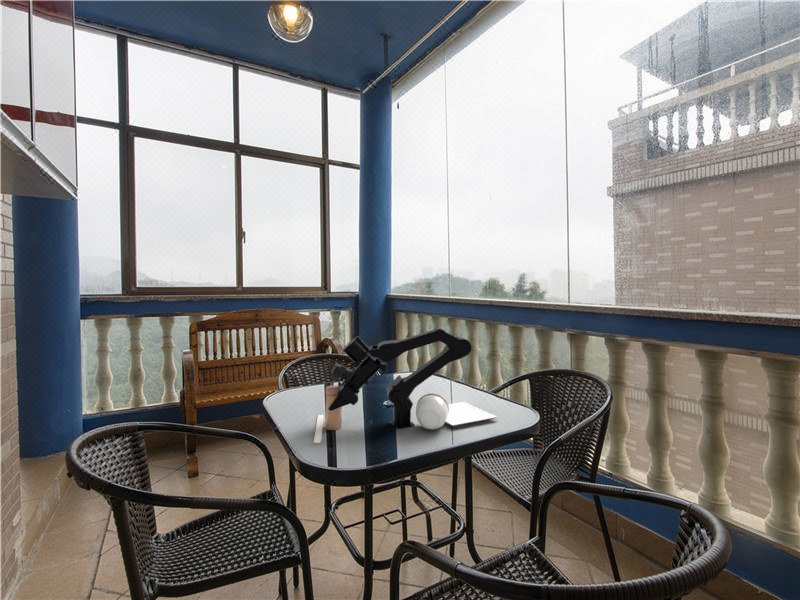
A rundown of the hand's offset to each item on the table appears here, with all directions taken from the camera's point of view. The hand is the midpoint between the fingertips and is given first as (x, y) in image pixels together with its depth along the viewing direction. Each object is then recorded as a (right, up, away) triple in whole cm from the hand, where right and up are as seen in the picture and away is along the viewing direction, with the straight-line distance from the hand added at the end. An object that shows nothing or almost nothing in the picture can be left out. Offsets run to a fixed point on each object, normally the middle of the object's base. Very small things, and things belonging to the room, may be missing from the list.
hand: (329, 407), depth 127 cm
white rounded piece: (+32, -3, -4) cm, 32 cm away
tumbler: (+1, -7, 0) cm, 7 cm away
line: (-3, -7, -1) cm, 7 cm away
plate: (+43, -7, +12) cm, 45 cm away
